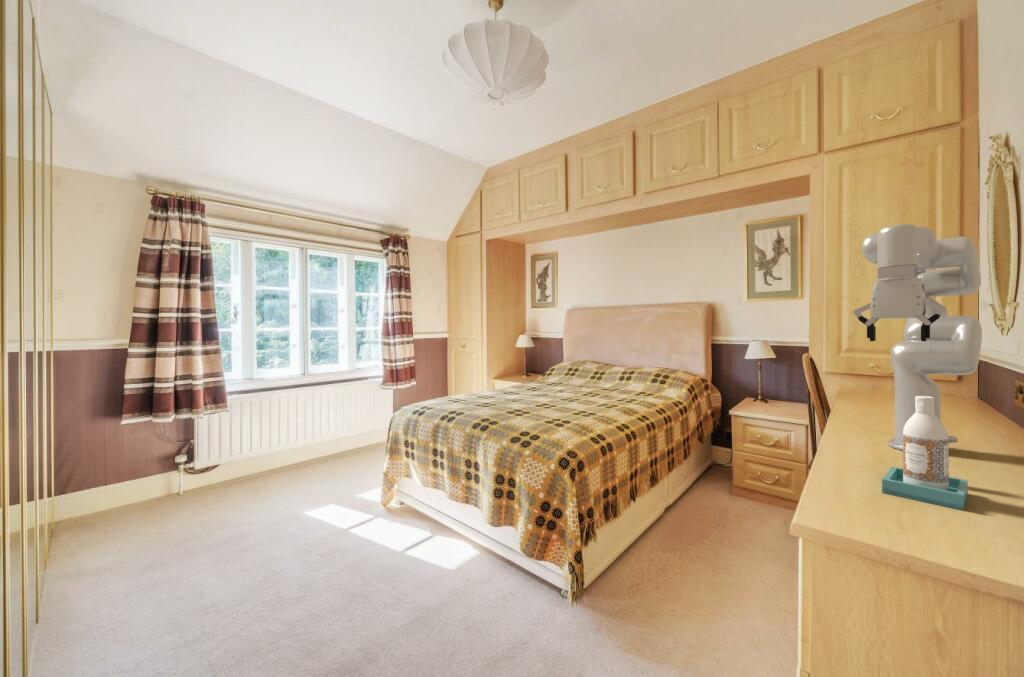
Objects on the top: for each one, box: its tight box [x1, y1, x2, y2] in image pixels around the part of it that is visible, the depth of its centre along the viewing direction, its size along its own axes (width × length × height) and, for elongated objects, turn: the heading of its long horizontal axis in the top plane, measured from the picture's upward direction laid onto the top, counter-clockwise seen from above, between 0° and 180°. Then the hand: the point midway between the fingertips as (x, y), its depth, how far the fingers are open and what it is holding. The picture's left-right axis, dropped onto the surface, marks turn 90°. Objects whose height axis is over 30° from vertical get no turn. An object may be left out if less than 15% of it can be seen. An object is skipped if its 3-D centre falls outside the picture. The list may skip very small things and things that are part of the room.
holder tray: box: [881, 466, 969, 512], centre depth 89 cm, size 12×12×3 cm
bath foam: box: [902, 396, 950, 491], centre depth 88 cm, size 7×7×20 cm
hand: (897, 341), depth 105 cm, fingers open, 9 cm apart
